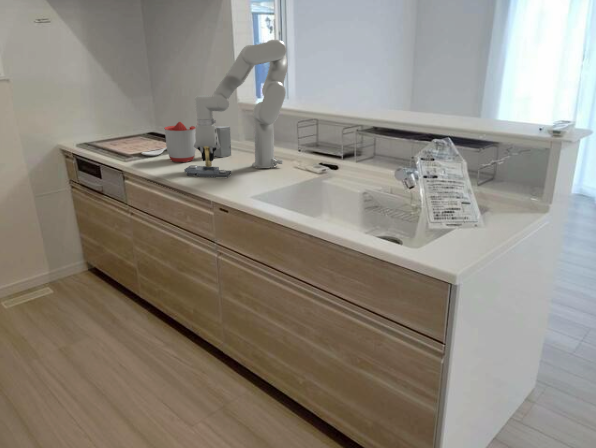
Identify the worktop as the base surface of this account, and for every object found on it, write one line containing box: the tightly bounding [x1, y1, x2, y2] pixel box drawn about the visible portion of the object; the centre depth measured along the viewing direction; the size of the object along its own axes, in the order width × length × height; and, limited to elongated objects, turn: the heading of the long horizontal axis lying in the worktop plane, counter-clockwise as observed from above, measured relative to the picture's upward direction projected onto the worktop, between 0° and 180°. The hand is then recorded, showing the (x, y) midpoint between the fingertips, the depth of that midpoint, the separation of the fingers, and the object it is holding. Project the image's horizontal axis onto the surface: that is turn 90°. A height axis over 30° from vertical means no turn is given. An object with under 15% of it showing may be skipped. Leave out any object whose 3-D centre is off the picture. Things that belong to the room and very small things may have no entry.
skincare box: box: [214, 125, 232, 158], centre depth 265 cm, size 8×7×16 cm
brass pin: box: [203, 146, 213, 167], centre depth 236 cm, size 4×4×10 cm
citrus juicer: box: [164, 121, 197, 163], centre depth 253 cm, size 16×17×20 cm
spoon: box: [140, 146, 167, 157], centre depth 272 cm, size 9×32×4 cm, turn 139°
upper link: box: [183, 164, 220, 177], centre depth 228 cm, size 14×8×4 cm, turn 81°
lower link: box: [196, 169, 232, 178], centre depth 228 cm, size 14×8×2 cm, turn 81°
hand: (208, 160), depth 237 cm, fingers closed on brass pin, 3 cm apart
